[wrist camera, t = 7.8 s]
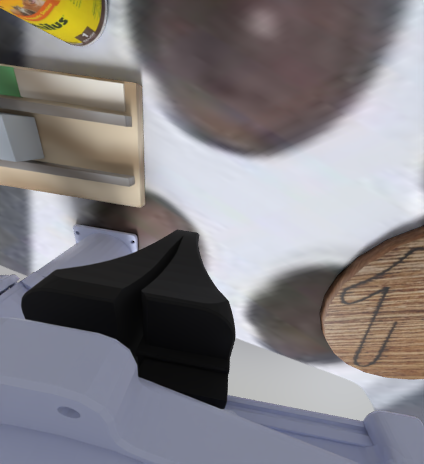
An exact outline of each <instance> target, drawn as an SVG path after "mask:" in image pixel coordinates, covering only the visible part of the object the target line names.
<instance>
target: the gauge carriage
mask: <svg viewBox="0 0 424 464" xmlns="http://www.w3.org/2000/svg"><path fill="white" fill-rule="evenodd" d="M43 158H44V154H43V150H42V146H41V142H40V138H39V134H38V130H37V126H36V122H35V118H34V117H29V116H22V115H16V114H9V113H2V112H0V159H1V160H7V161H13V162H19V161H27V160H35V159H43Z"/></svg>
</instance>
